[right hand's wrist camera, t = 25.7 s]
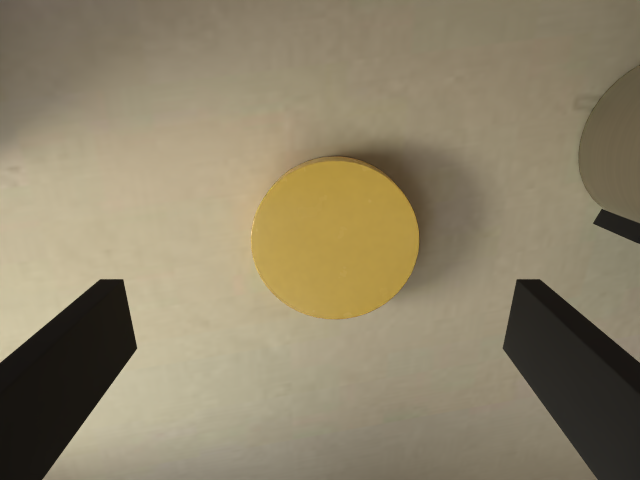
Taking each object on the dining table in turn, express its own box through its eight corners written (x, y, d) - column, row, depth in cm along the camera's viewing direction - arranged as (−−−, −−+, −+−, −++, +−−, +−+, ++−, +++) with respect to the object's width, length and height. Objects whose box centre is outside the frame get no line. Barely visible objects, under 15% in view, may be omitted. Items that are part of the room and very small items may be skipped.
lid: (445, 231, 23) (455, 241, 22) (337, 330, 26) (338, 347, 24) (330, 120, 21) (329, 121, 20) (225, 239, 24) (217, 250, 22)
